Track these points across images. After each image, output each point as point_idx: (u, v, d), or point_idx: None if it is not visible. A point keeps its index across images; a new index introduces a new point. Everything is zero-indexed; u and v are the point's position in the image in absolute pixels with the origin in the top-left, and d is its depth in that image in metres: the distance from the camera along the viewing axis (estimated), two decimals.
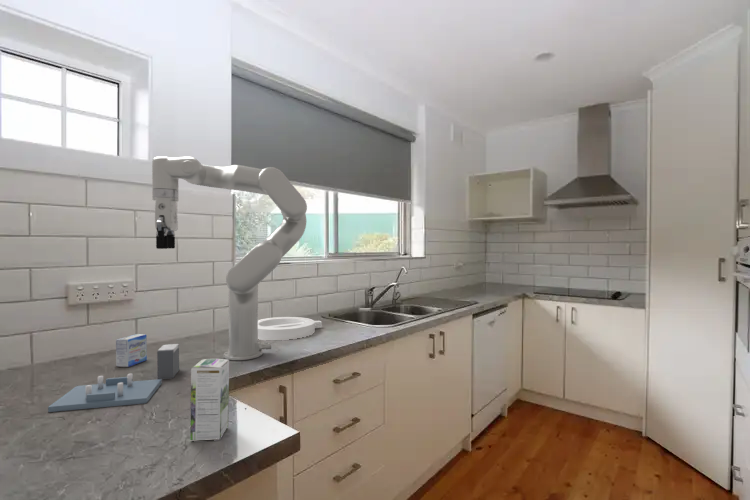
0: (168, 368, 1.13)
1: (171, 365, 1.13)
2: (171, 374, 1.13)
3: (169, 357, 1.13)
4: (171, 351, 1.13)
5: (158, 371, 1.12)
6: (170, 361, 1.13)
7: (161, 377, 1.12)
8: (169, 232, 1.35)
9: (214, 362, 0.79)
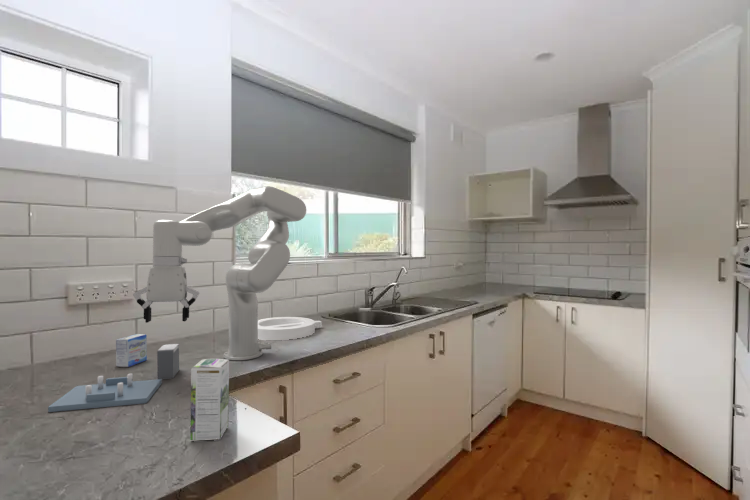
0: (168, 368, 1.13)
1: (171, 365, 1.13)
2: (171, 374, 1.13)
3: (169, 357, 1.13)
4: (171, 351, 1.13)
5: (158, 371, 1.12)
6: (170, 361, 1.13)
7: (161, 377, 1.12)
8: None
9: (214, 362, 0.79)
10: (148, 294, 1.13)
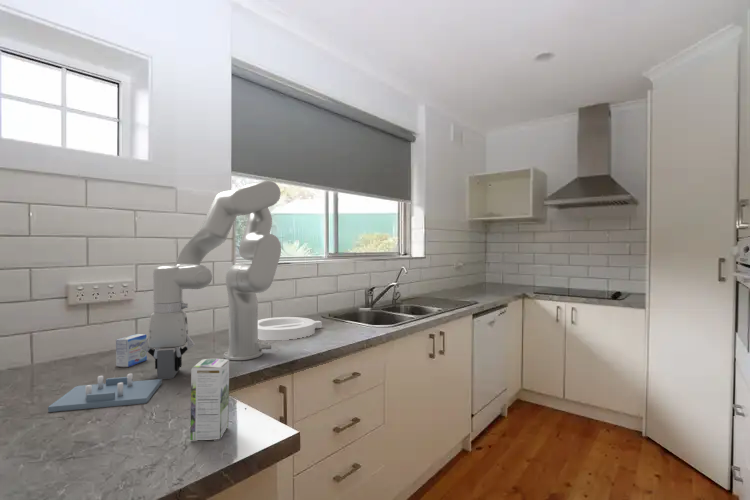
0: (168, 368, 1.13)
1: (171, 365, 1.13)
2: (171, 374, 1.13)
3: (168, 357, 1.13)
4: (171, 351, 1.13)
5: (158, 371, 1.12)
6: (170, 361, 1.13)
7: (161, 377, 1.12)
8: None
9: (214, 362, 0.79)
10: (149, 341, 1.13)
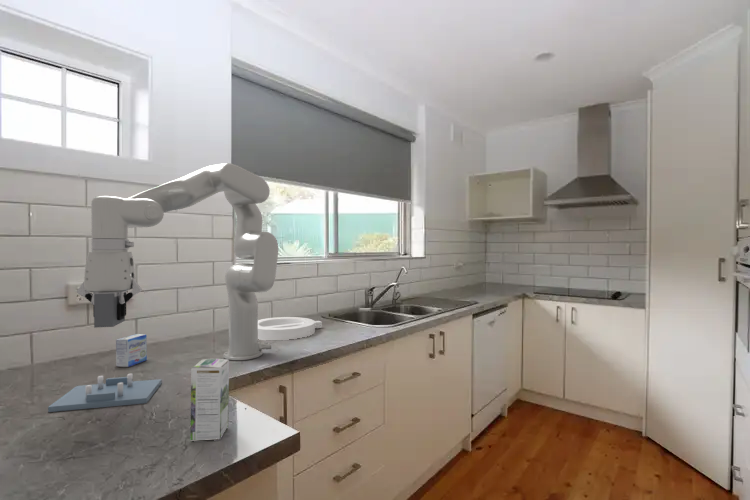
0: (107, 314, 0.96)
1: (111, 311, 0.96)
2: (111, 322, 0.96)
3: (108, 302, 0.96)
4: (111, 294, 0.96)
5: (95, 318, 0.95)
6: (110, 306, 0.96)
7: (99, 325, 0.95)
8: None
9: (214, 362, 0.79)
10: (86, 283, 0.96)
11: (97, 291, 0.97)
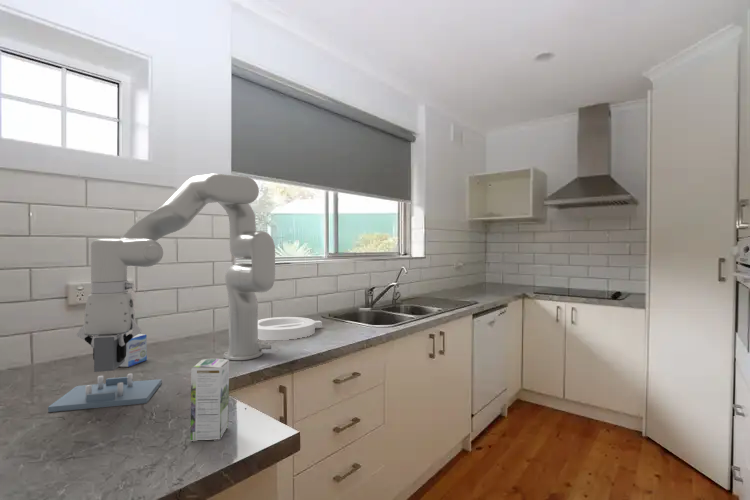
0: (107, 358, 0.96)
1: (111, 355, 0.96)
2: (111, 366, 0.96)
3: (108, 346, 0.96)
4: (111, 338, 0.96)
5: (95, 362, 0.95)
6: (110, 350, 0.96)
7: (99, 369, 0.95)
8: None
9: (214, 362, 0.79)
10: (86, 327, 0.96)
11: (97, 334, 0.97)
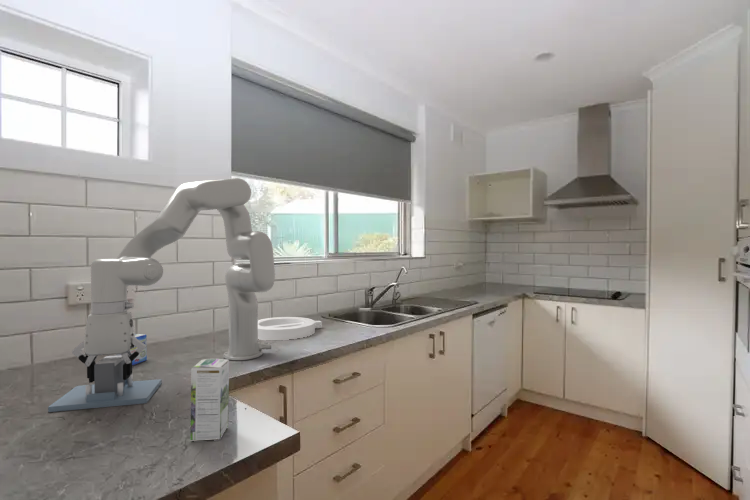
0: (108, 384, 0.96)
1: (111, 381, 0.96)
2: None
3: (108, 372, 0.96)
4: (111, 364, 0.96)
5: (95, 388, 0.95)
6: (110, 376, 0.96)
7: None
8: None
9: (214, 362, 0.79)
10: (86, 347, 0.96)
11: (97, 354, 0.97)
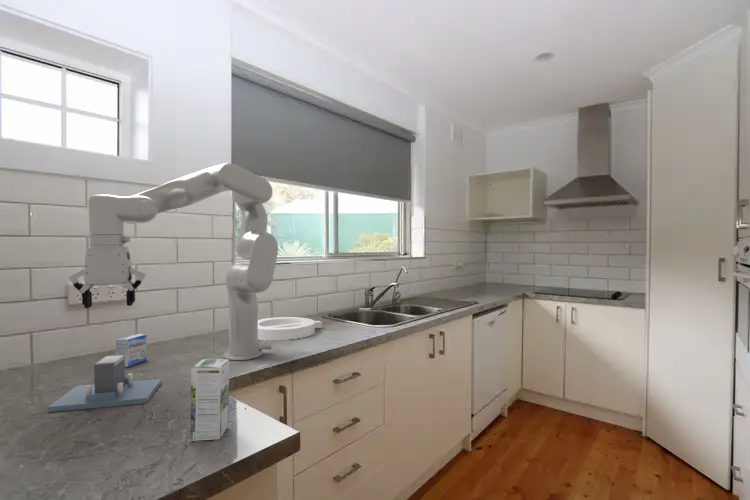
0: (108, 384, 0.96)
1: (111, 381, 0.96)
2: None
3: (108, 372, 0.96)
4: (111, 364, 0.96)
5: (95, 388, 0.95)
6: (110, 376, 0.96)
7: None
8: None
9: (214, 362, 0.79)
10: (86, 277, 1.02)
11: (97, 284, 1.03)
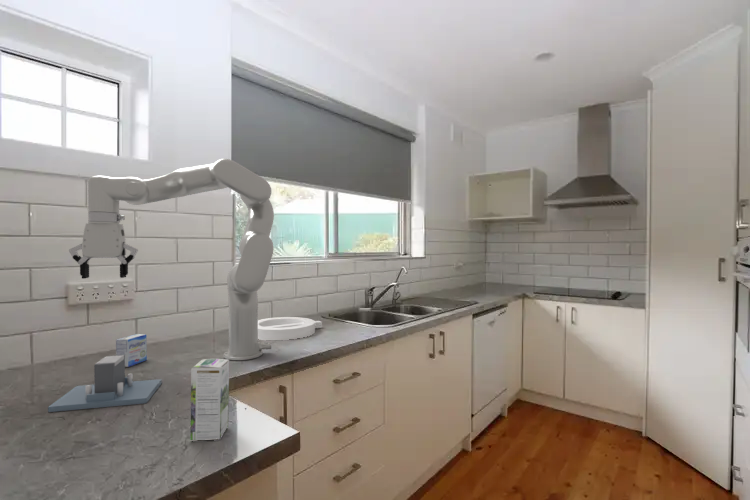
0: (108, 384, 0.96)
1: (111, 381, 0.96)
2: None
3: (108, 372, 0.96)
4: (111, 364, 0.96)
5: (95, 388, 0.95)
6: (110, 376, 0.96)
7: None
8: None
9: (214, 362, 0.79)
10: (83, 250, 1.13)
11: (93, 257, 1.14)
